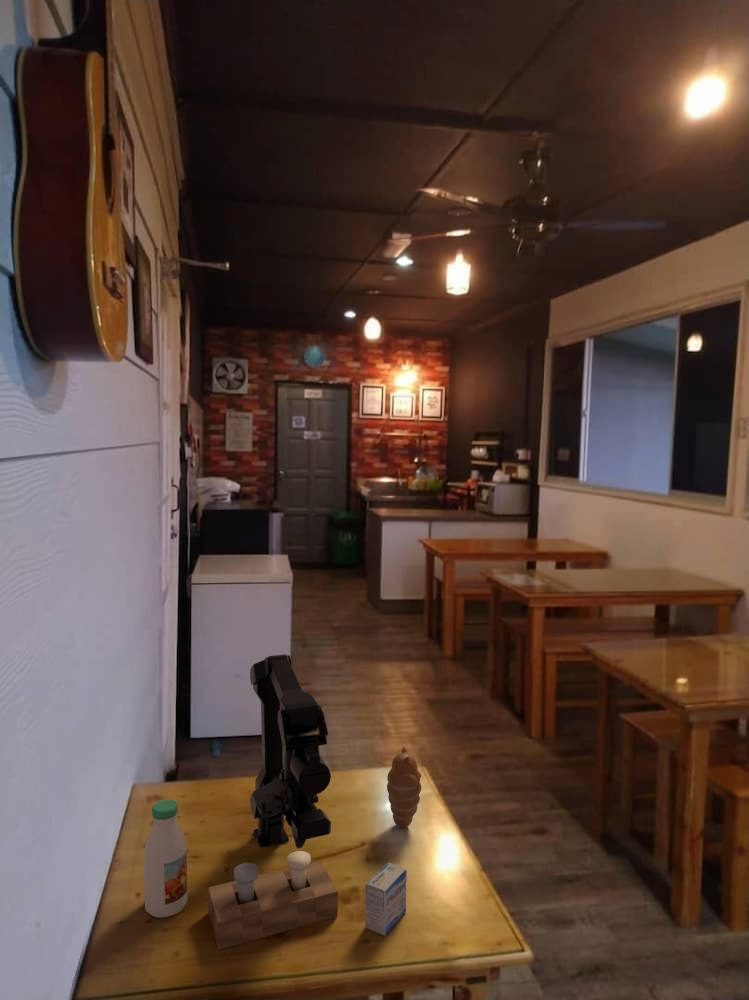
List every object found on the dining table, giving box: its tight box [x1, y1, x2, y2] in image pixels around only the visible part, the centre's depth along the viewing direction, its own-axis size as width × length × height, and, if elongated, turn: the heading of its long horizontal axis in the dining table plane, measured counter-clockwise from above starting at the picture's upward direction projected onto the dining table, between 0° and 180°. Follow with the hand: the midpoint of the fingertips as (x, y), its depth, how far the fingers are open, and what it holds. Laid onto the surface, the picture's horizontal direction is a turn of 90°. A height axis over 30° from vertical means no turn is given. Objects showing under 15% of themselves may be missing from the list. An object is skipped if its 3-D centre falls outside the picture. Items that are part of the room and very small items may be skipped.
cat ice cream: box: [386, 746, 422, 829], centre depth 157 cm, size 9×8×18 cm
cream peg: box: [286, 850, 312, 890], centre depth 130 cm, size 4×4×6 cm
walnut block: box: [207, 860, 339, 951], centre depth 129 cm, size 10×22×5 cm, turn 113°
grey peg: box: [233, 862, 259, 904], centre depth 126 cm, size 4×4×6 cm
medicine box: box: [364, 862, 408, 937], centre depth 128 cm, size 8×4×9 cm, turn 148°
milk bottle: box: [143, 798, 188, 919], centre depth 130 cm, size 8×8×20 cm
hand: (299, 847), depth 130 cm, fingers closed
